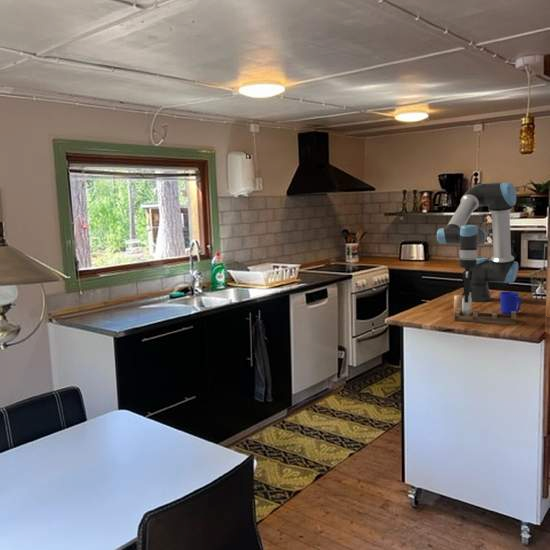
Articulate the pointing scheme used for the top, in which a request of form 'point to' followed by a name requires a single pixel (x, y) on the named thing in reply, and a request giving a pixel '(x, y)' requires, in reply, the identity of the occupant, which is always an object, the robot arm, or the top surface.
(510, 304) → the mug
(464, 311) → the plug grey
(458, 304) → the plug terracotta
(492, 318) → the comb rack
